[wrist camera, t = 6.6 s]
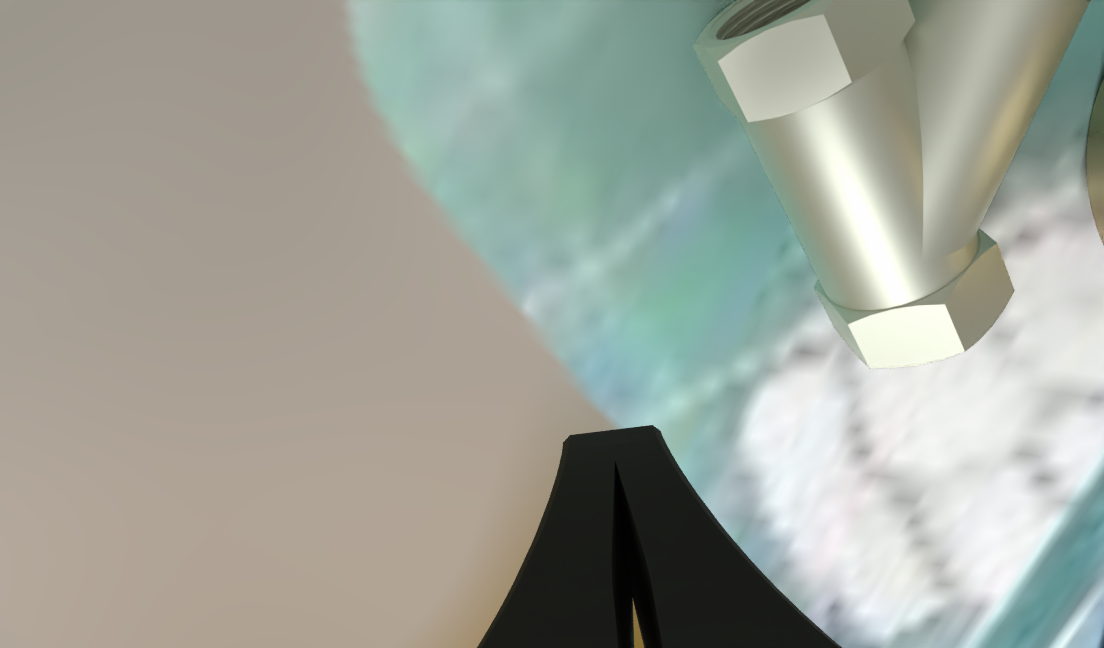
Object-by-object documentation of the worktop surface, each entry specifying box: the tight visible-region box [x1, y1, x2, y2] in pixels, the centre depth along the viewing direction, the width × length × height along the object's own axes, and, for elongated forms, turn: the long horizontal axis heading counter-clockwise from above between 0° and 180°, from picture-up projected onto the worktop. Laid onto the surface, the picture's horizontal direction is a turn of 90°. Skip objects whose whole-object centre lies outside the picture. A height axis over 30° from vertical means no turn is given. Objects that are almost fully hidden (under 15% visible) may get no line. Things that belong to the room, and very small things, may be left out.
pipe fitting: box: [693, 0, 1091, 368], centre depth 16 cm, size 8×4×7 cm
